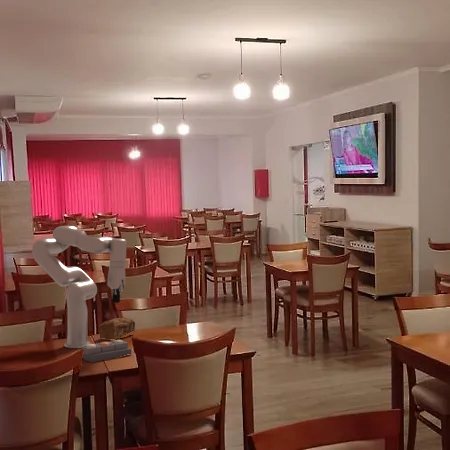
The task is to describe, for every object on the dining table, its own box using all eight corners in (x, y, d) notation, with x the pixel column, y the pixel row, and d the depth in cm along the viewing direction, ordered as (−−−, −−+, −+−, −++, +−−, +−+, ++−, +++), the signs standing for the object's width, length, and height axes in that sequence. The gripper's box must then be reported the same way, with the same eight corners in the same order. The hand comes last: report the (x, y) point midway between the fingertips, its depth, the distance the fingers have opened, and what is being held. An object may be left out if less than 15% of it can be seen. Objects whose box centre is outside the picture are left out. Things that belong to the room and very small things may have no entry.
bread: (114, 342, 308) (114, 322, 308) (98, 339, 313) (98, 320, 313) (135, 335, 325) (136, 316, 325) (119, 332, 330) (119, 314, 329)
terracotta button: (98, 348, 280) (98, 342, 280) (106, 346, 283) (106, 341, 283) (103, 350, 277) (103, 344, 277) (111, 348, 279) (111, 343, 279)
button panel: (78, 357, 278) (78, 345, 277) (118, 350, 291) (118, 338, 291) (90, 362, 268) (90, 350, 268) (131, 355, 282) (131, 343, 282)
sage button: (112, 346, 284) (112, 340, 284) (119, 344, 287) (119, 339, 287) (116, 347, 281) (116, 342, 281) (124, 346, 284) (124, 341, 284)
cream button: (84, 350, 275) (84, 344, 275) (93, 349, 278) (93, 343, 278) (89, 352, 272) (89, 346, 272) (97, 350, 275) (97, 345, 275)
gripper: (103, 262, 292) (101, 300, 293) (118, 266, 280) (116, 305, 281) (117, 262, 297) (115, 299, 298) (132, 266, 285) (130, 304, 286)
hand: (116, 302), depth 289 cm, fingers closed
